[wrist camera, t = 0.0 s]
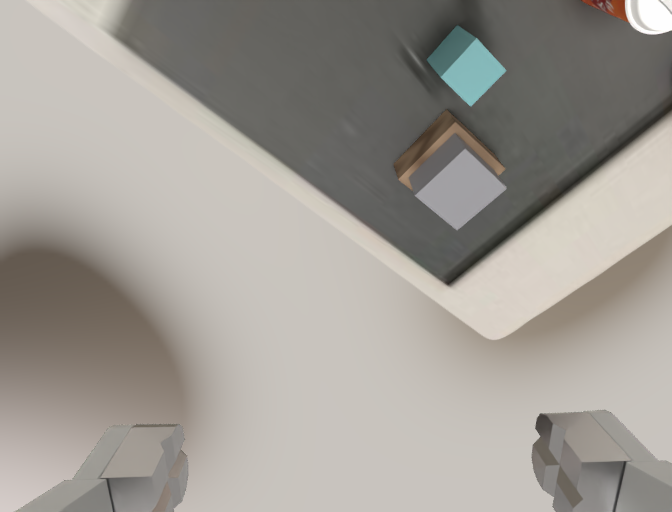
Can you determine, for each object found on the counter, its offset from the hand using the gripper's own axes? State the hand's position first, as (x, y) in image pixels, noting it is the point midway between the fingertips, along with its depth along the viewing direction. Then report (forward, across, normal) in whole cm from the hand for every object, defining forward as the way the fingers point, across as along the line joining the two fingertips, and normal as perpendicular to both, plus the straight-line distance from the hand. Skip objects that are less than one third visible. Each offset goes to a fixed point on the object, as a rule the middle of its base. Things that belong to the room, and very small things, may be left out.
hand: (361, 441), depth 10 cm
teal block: (+50, -16, -14) cm, 54 cm away
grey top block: (+50, -16, 0) cm, 53 cm away
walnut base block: (+55, -16, -1) cm, 57 cm away
